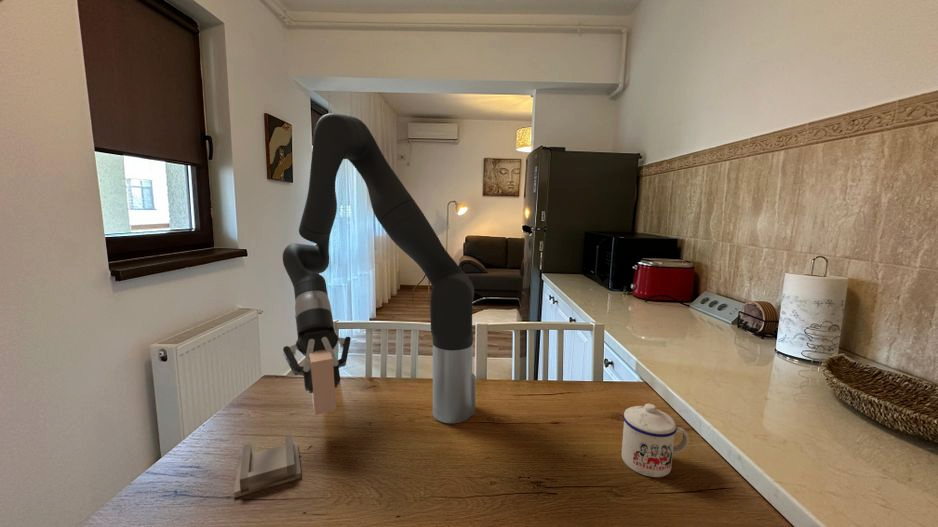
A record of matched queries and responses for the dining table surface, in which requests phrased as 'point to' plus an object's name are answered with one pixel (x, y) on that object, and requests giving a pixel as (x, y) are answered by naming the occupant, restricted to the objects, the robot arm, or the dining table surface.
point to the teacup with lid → (650, 440)
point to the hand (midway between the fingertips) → (323, 388)
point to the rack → (267, 467)
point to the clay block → (322, 381)
